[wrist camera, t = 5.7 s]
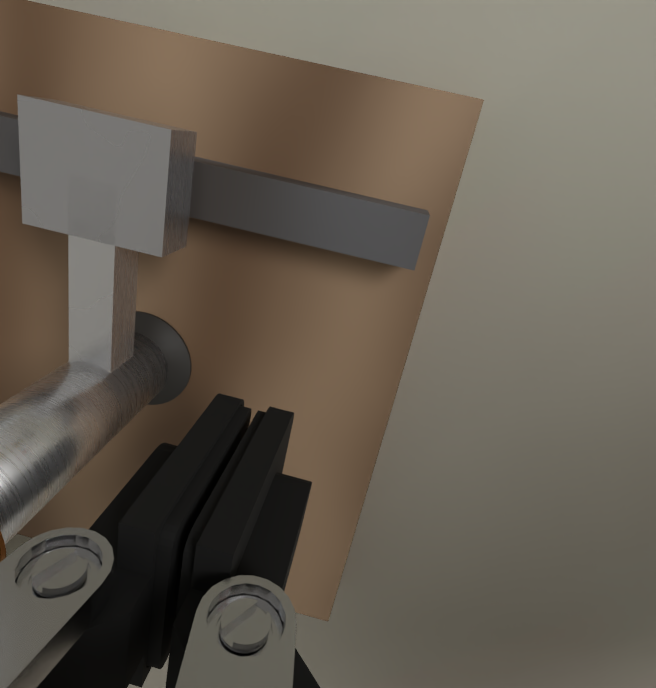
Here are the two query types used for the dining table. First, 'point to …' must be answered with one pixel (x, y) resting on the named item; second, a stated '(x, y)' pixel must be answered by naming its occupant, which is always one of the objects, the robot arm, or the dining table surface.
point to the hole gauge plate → (244, 253)
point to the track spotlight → (91, 286)
